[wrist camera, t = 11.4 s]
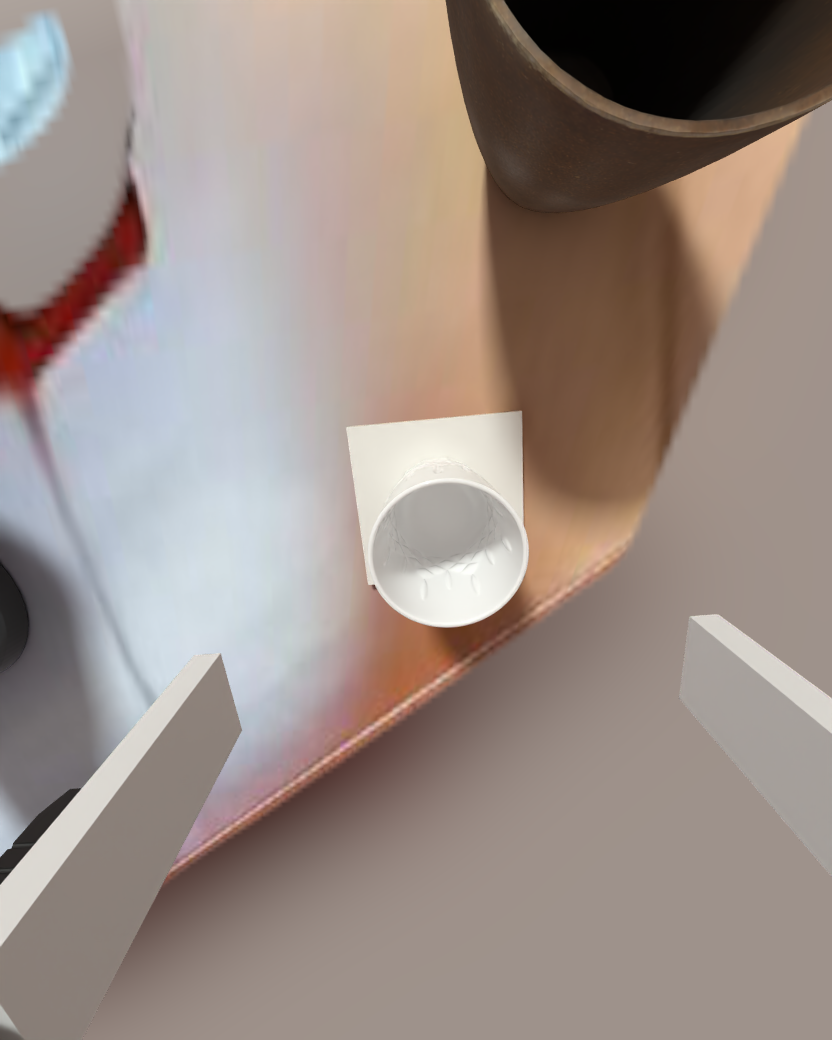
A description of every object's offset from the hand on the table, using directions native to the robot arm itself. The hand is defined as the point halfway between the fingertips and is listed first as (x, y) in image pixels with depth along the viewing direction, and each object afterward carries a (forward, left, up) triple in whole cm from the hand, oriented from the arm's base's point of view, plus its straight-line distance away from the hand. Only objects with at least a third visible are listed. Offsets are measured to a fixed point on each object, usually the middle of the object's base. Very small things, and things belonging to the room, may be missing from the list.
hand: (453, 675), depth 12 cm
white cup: (0, 0, -19) cm, 19 cm away
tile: (0, 0, -19) cm, 19 cm away
